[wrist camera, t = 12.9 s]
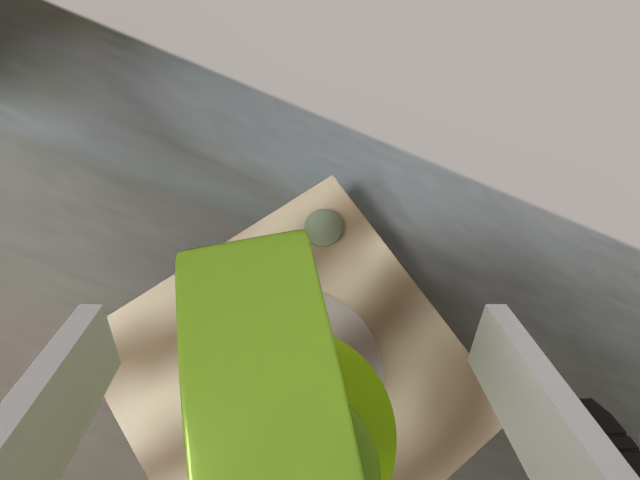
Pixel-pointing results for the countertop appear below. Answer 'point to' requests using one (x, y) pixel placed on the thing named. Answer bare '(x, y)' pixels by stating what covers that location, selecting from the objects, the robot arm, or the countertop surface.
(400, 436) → the stand
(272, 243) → the soap dispenser
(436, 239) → the countertop surface
